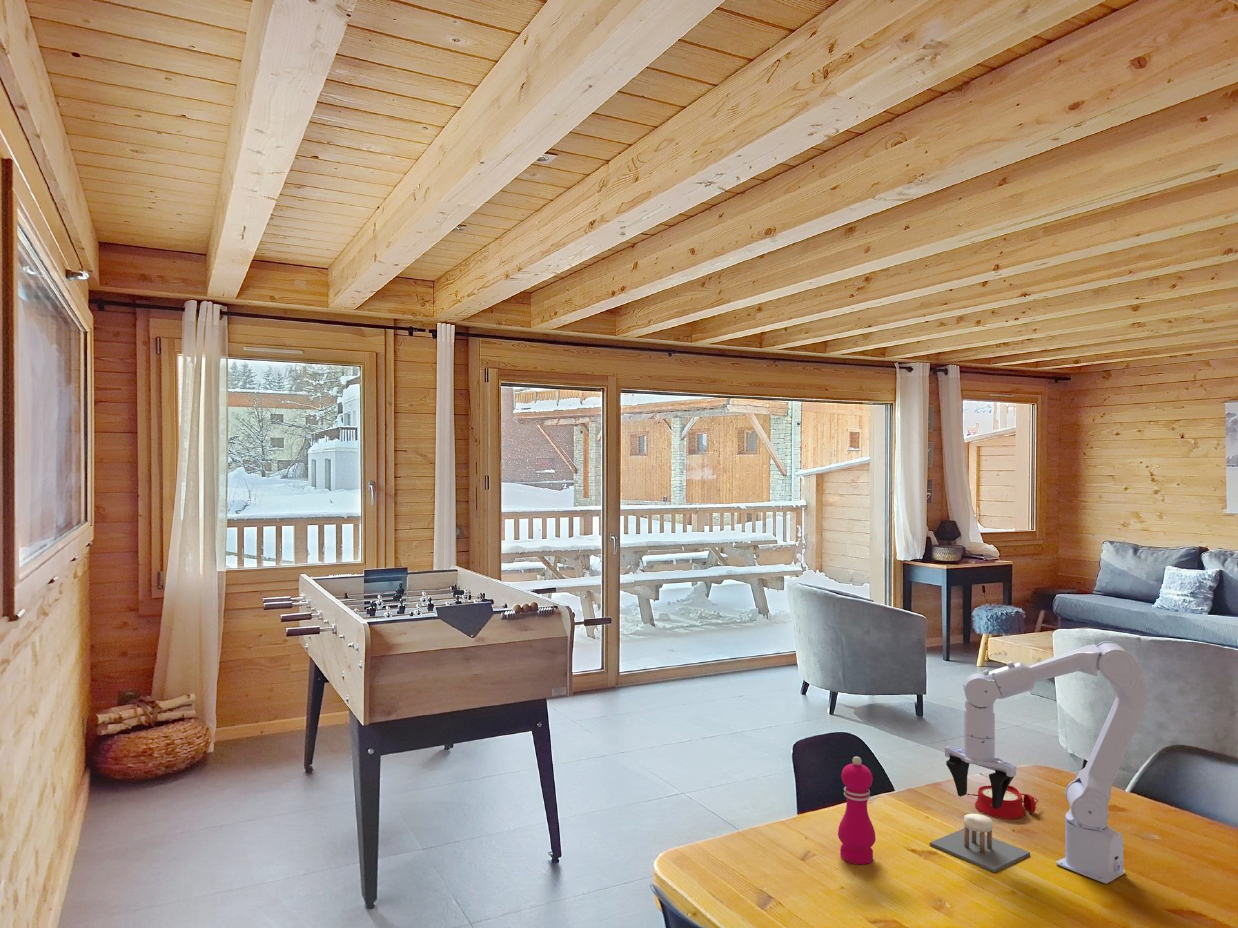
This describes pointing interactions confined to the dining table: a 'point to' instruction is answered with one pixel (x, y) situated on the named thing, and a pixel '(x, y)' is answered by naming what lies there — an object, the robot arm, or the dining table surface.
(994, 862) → the mat
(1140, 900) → the dining table surface
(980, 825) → the stool
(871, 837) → the pepper mill
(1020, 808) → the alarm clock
